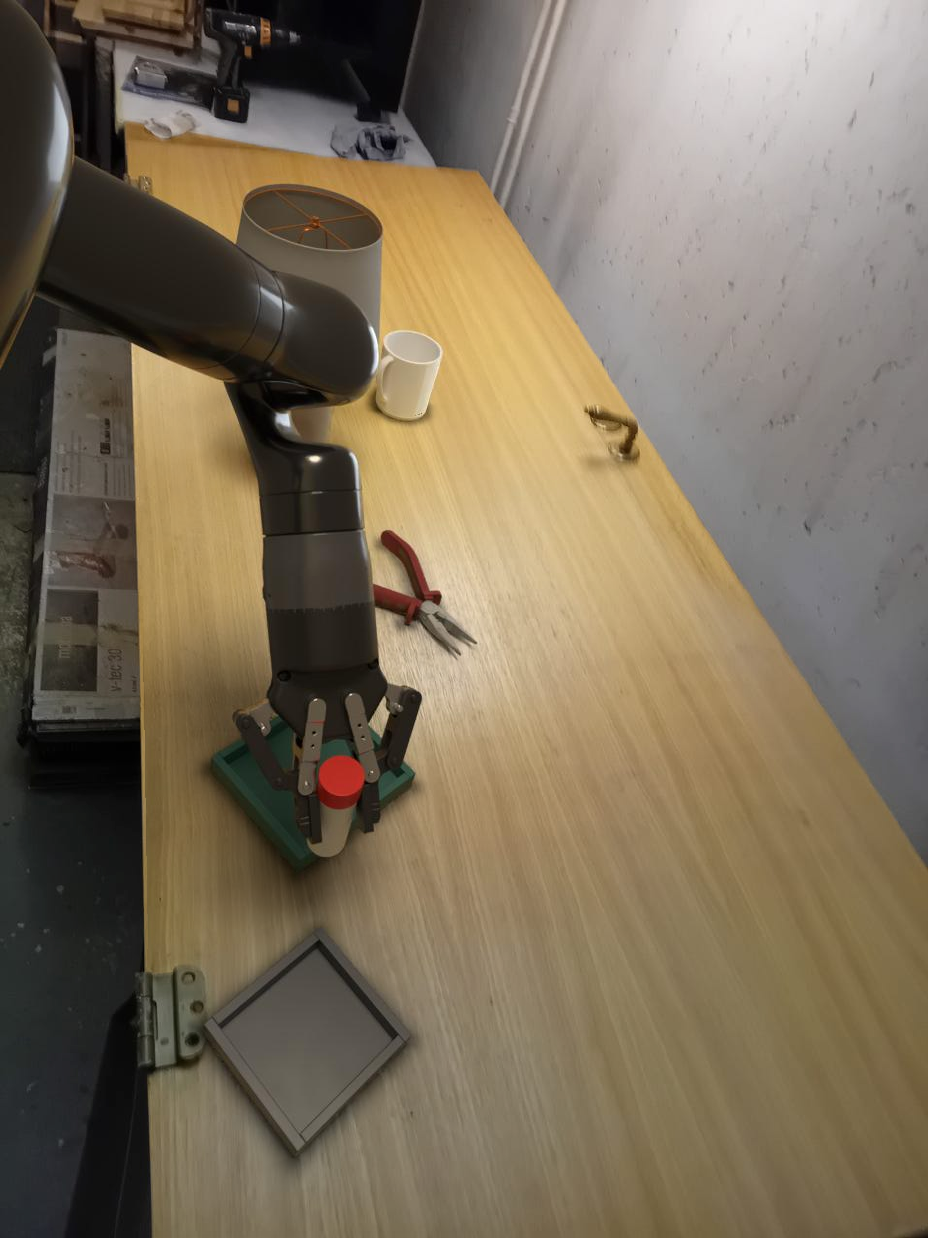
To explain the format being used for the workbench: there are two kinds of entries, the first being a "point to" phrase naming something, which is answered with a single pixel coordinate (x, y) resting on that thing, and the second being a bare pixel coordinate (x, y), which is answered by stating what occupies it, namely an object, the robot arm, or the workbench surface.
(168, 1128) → the workbench surface
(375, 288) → the lamp
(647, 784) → the workbench surface
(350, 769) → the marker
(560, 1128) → the workbench surface
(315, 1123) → the tray near
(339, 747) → the tray far
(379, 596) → the pliers
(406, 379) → the mug
